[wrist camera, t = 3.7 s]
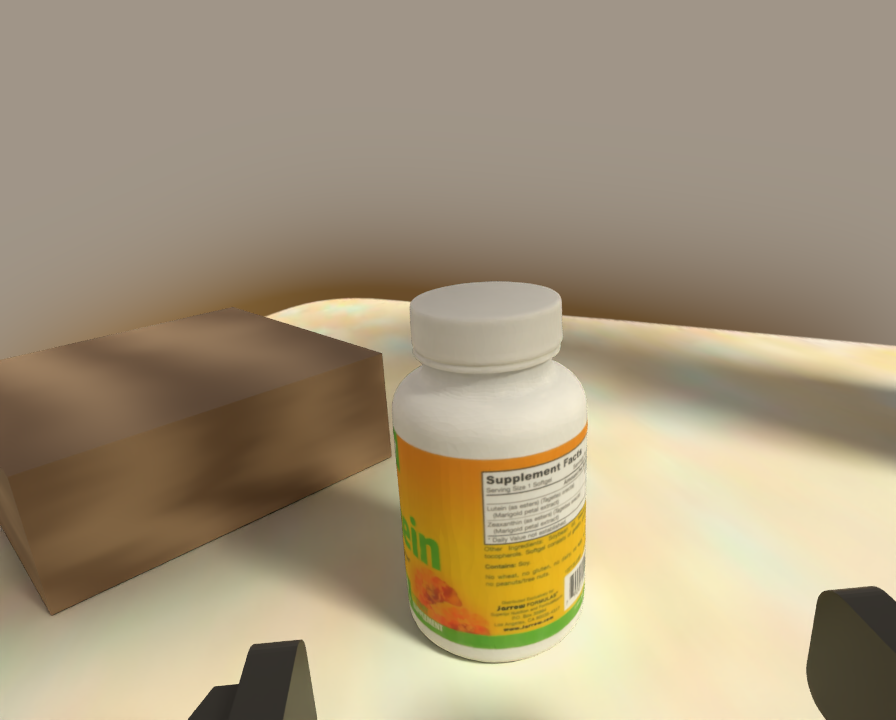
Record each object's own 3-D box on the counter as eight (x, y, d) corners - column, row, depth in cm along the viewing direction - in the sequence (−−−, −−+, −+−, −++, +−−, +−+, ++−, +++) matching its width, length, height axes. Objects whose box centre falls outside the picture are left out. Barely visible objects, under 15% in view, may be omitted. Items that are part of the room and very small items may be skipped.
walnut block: (246, 386, 39) (232, 307, 38) (391, 456, 29) (382, 353, 28) (-29, 473, 30) (-62, 373, 29) (51, 615, 20) (7, 476, 19)
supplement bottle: (390, 572, 22) (361, 289, 18) (534, 534, 23) (531, 268, 20) (441, 694, 17) (414, 339, 14) (619, 635, 18) (632, 306, 15)
